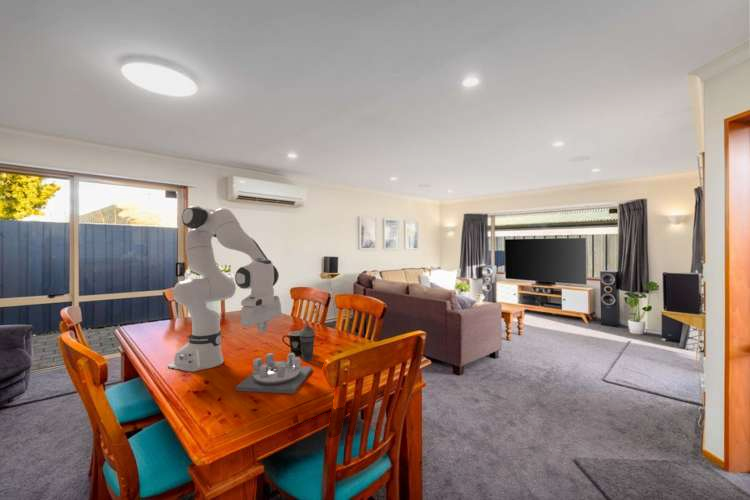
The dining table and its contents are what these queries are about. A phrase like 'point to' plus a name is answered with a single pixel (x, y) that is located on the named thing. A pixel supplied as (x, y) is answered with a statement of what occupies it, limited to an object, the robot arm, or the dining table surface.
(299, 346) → the coffee mug
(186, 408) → the dining table surface
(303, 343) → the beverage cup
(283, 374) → the grey round pegged disc
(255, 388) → the base plate
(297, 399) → the dining table surface
